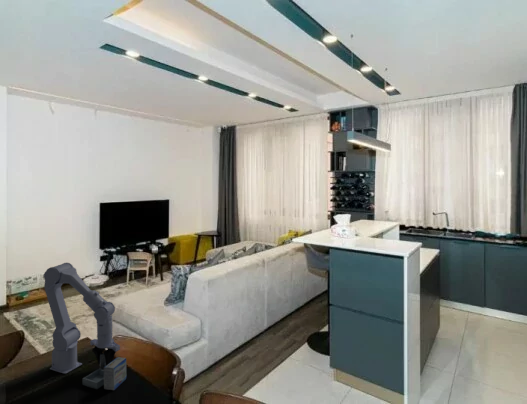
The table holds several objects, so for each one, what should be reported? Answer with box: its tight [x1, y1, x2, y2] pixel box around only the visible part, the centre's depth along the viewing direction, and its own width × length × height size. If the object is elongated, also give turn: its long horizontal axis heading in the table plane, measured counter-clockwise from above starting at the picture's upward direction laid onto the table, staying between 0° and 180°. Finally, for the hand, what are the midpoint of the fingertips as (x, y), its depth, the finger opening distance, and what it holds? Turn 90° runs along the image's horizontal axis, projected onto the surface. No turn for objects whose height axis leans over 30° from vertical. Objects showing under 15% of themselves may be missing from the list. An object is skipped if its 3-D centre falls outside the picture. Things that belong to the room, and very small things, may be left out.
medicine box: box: [103, 356, 127, 391], centre depth 126 cm, size 8×4×9 cm, turn 168°
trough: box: [82, 368, 104, 390], centre depth 127 cm, size 8×8×2 cm
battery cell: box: [99, 349, 107, 370], centre depth 136 cm, size 4×4×8 cm
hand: (105, 364), depth 136 cm, fingers closed on battery cell, 4 cm apart
